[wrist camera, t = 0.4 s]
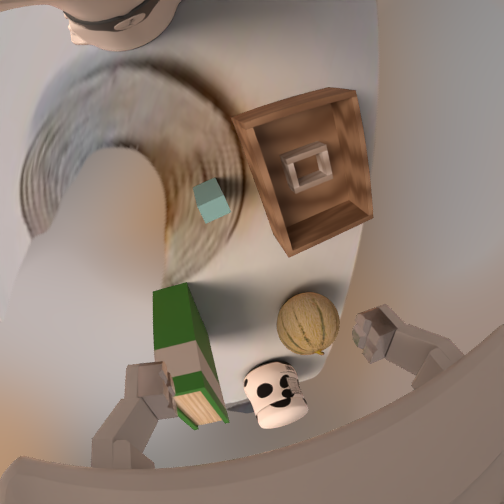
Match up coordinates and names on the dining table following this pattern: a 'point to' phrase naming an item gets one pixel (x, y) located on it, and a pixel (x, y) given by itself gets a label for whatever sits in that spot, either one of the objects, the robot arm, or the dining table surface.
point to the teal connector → (210, 200)
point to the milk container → (275, 394)
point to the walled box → (309, 165)
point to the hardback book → (187, 356)
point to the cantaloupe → (308, 323)
